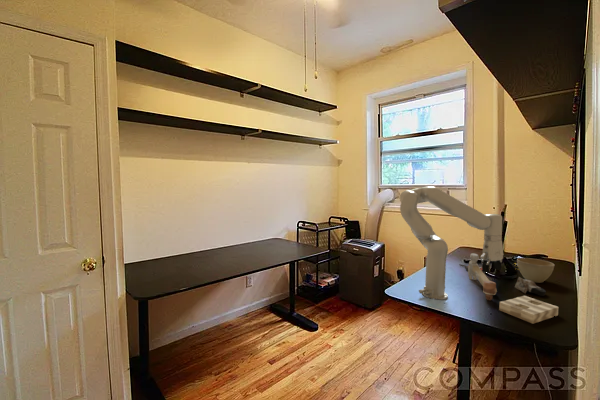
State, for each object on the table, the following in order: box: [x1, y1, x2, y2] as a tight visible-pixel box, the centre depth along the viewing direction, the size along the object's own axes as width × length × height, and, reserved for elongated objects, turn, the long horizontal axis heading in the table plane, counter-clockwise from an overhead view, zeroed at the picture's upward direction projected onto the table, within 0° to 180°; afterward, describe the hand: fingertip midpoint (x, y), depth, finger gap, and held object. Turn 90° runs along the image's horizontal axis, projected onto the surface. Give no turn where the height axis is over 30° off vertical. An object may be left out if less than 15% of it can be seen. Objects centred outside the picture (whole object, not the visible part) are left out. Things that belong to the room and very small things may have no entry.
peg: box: [482, 280, 497, 301], centre depth 148 cm, size 6×6×9 cm
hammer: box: [467, 253, 498, 293], centre depth 167 cm, size 16×5×30 cm
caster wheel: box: [514, 276, 547, 297], centre depth 158 cm, size 7×11×10 cm
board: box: [498, 295, 559, 324], centre depth 133 cm, size 20×14×4 cm
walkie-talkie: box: [458, 263, 486, 275], centre depth 197 cm, size 9×4×20 cm
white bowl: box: [516, 257, 555, 283], centre depth 178 cm, size 18×18×12 cm
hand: (491, 270), depth 147 cm, fingers open, 9 cm apart
